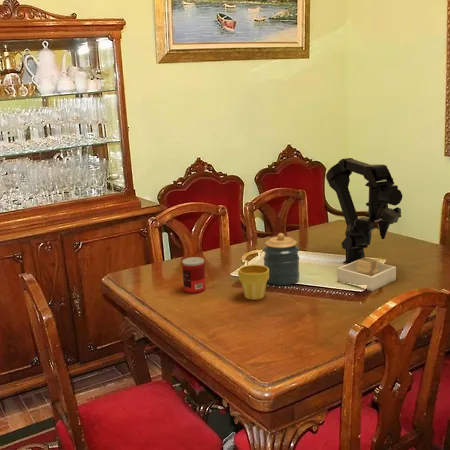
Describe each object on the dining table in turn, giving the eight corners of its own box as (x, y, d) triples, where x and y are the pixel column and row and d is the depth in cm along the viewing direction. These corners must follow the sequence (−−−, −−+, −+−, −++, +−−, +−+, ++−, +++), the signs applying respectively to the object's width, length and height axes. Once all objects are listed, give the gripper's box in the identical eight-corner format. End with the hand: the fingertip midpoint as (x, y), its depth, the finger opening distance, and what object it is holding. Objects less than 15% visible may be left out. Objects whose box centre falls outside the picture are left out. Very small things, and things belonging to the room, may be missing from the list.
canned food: (208, 286, 210) (207, 257, 207) (200, 294, 203) (199, 264, 200) (189, 285, 213) (187, 256, 210) (180, 293, 205) (178, 263, 203)
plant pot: (253, 288, 207) (252, 262, 204) (275, 295, 200) (275, 268, 197) (233, 297, 200) (231, 269, 197) (255, 304, 193) (254, 276, 190)
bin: (337, 281, 210) (337, 268, 209) (361, 271, 219) (361, 258, 218) (371, 291, 199) (372, 277, 198) (395, 280, 209) (396, 266, 207)
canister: (306, 278, 214) (306, 232, 210) (285, 288, 205) (284, 240, 201) (278, 271, 223) (277, 226, 218) (256, 280, 214) (255, 234, 209)
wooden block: (368, 282, 206) (368, 263, 204) (356, 278, 209) (356, 260, 207) (376, 278, 209) (376, 259, 207) (364, 275, 212) (365, 256, 211)
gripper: (381, 208, 198) (380, 252, 202) (411, 198, 210) (409, 240, 214) (354, 203, 206) (353, 246, 210) (384, 194, 218) (382, 234, 222)
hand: (375, 241), depth 214 cm, fingers open, 9 cm apart
